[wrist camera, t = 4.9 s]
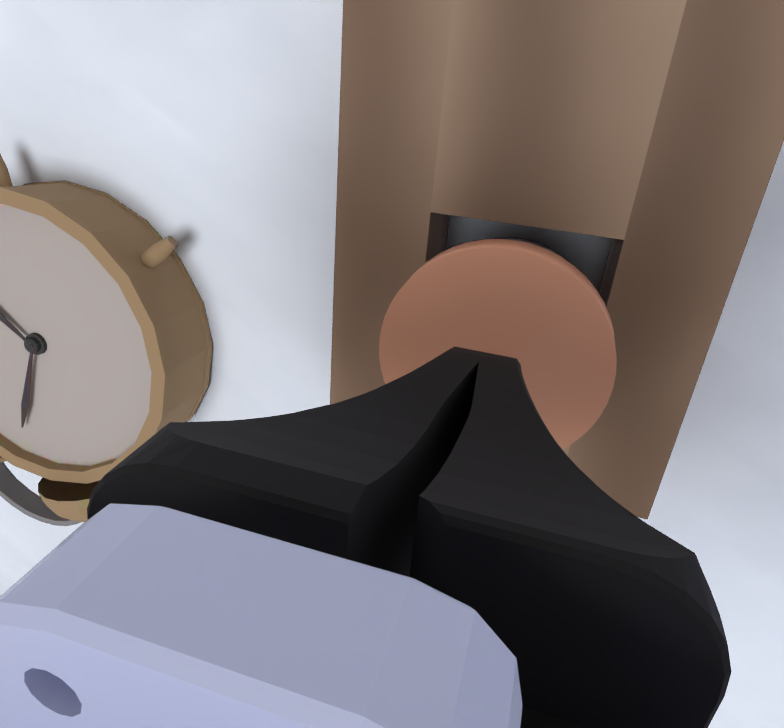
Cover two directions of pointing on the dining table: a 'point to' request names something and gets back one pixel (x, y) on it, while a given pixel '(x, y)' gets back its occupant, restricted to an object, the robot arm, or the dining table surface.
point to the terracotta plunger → (510, 325)
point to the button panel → (563, 175)
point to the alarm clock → (88, 341)
